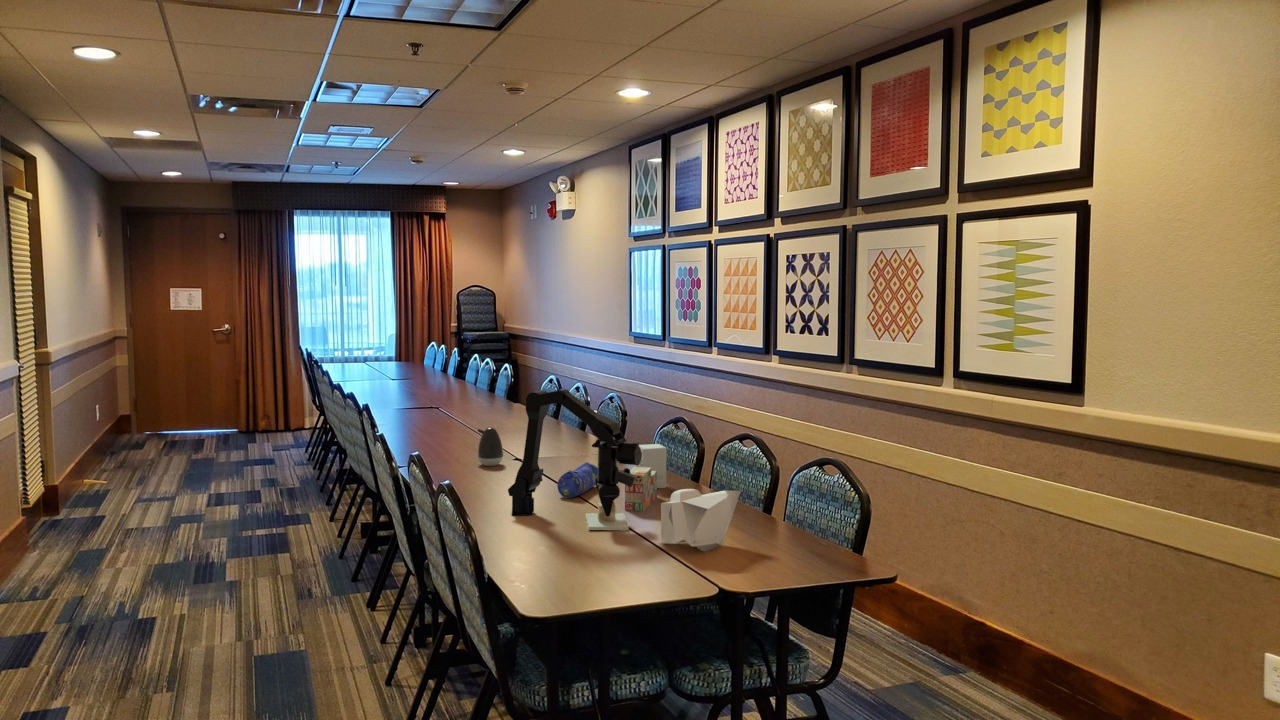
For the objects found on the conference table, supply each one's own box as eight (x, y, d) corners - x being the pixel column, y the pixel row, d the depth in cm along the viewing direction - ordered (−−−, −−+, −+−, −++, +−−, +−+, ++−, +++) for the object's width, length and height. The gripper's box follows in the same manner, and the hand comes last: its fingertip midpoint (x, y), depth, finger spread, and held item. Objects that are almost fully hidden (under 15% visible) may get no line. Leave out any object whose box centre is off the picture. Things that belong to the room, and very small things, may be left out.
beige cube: (598, 522, 280) (599, 505, 280) (597, 517, 285) (598, 501, 285) (615, 521, 281) (615, 505, 280) (613, 517, 286) (614, 501, 285)
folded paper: (655, 485, 260) (687, 503, 245) (725, 478, 272) (760, 495, 257) (651, 542, 263) (682, 564, 248) (721, 533, 274) (755, 553, 260)
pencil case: (578, 500, 313) (578, 472, 312) (555, 498, 316) (555, 470, 315) (601, 487, 334) (602, 461, 333) (579, 485, 336) (580, 459, 336)
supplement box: (658, 483, 341) (659, 443, 340) (666, 488, 333) (667, 447, 332) (635, 484, 339) (635, 444, 337) (642, 489, 330) (643, 448, 329)
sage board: (588, 530, 274) (588, 526, 274) (585, 517, 290) (585, 513, 290) (628, 530, 276) (628, 526, 276) (623, 516, 292) (623, 513, 291)
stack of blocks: (639, 496, 321) (640, 461, 320) (657, 497, 320) (657, 462, 318) (624, 510, 300) (625, 473, 299) (643, 512, 299) (643, 474, 298)
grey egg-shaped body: (481, 462, 375) (481, 425, 374) (506, 463, 374) (506, 426, 373) (473, 466, 365) (473, 429, 364) (498, 468, 364) (499, 430, 363)
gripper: (636, 468, 273) (635, 520, 274) (630, 456, 292) (629, 504, 293) (599, 468, 272) (598, 520, 273) (595, 456, 290) (594, 505, 292)
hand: (606, 512), depth 283 cm, fingers open, 9 cm apart
